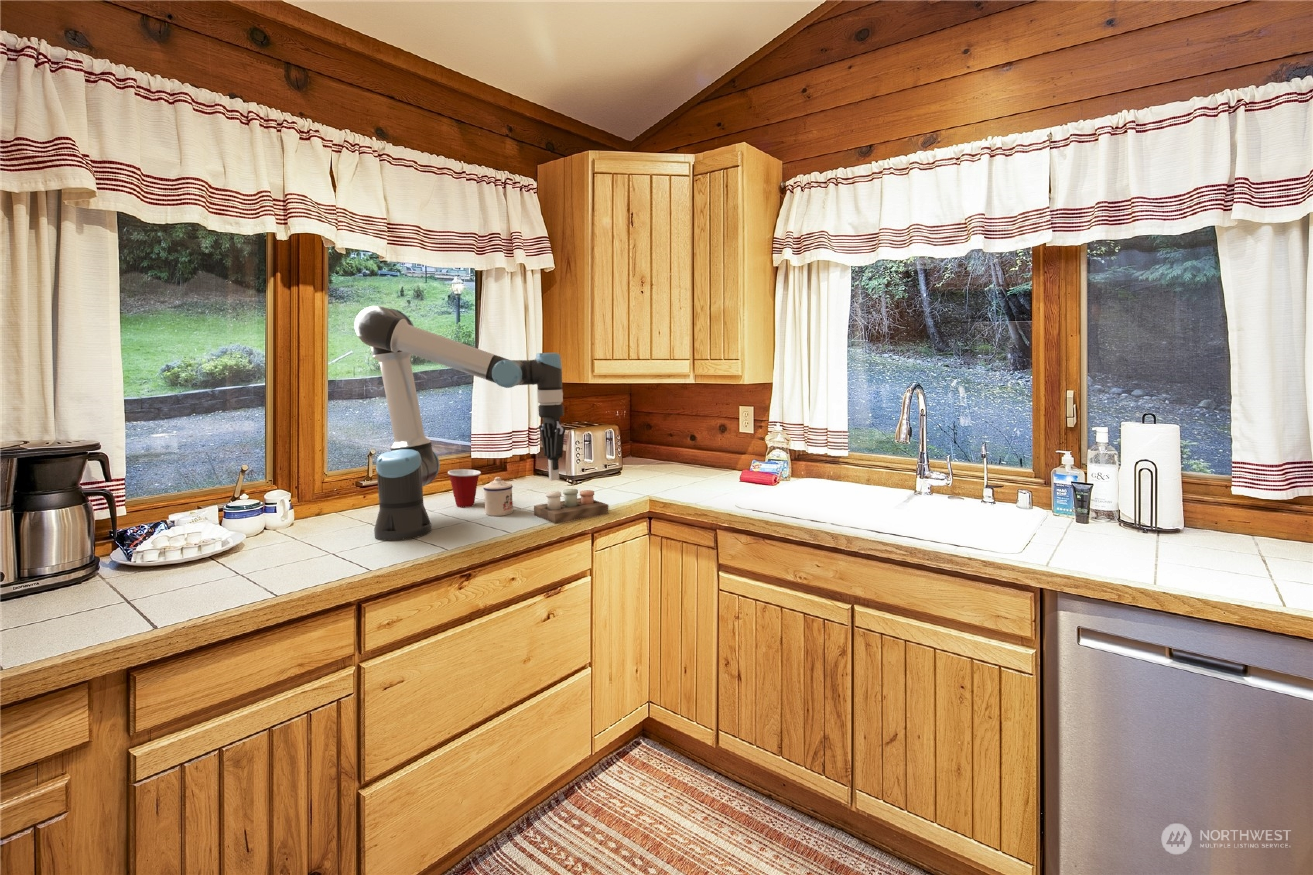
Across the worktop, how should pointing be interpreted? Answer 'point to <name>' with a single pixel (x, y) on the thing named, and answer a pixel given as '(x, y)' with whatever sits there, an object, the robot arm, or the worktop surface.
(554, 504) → the cream button
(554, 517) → the button board
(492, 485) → the teacup with lid
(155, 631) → the worktop surface
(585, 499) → the pink short cylinder
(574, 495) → the sage button
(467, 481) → the plastic cup
